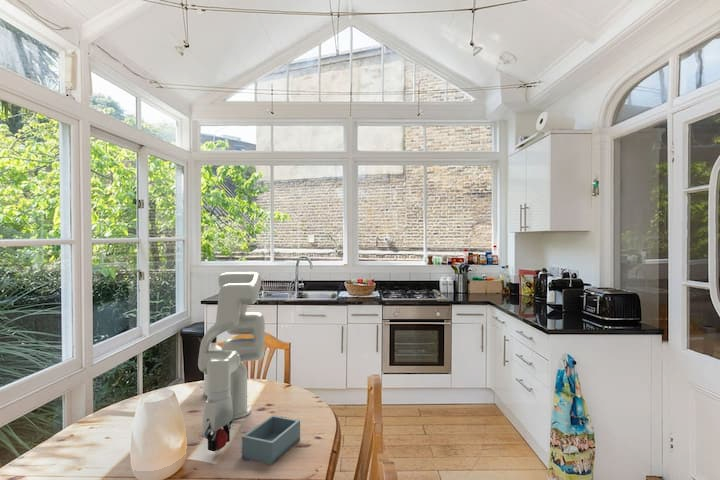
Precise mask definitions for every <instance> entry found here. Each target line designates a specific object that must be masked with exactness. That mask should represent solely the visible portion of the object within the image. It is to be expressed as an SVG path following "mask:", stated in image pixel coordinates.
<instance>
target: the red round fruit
mask: <svg viewBox="0 0 720 480" xmlns="http://www.w3.org/2000/svg"><path fill="white" fill-rule="evenodd" d="M211 435H213V432H211ZM215 439H217V450H216V451H220V450H222V449H223V448H224V447H226V446H227V443H228V442H227V441H228V435H227V433H226V432H225V430H223V428H220V429H219V430H217V433H216V437H215Z"/></svg>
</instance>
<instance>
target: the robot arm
mask: <svg viewBox="0 0 720 480" xmlns="http://www.w3.org/2000/svg"><path fill="white" fill-rule="evenodd" d="M218 286H219V288H220V289H219V291H218V300H217V309H216V316H215V322H214V323H213V325H211V326H210V328H209V329H208V330H207V331H206V333H204V335H203V337H202V339H201V342H200V345H199V353H198V360H197V361H198V362H197V365H198V366H197V367H198V369H199V371H200V372H202V373H204V374H205V373H207V396H206V397H207V400H205V404H204V408H203V409H204V410H203V418H202V419H203V420H202V428H203V429H202V431H201V436H202V437H204V438H205V439H206V440H207V450H208V451H211V452H214V453H215V452H216V451H218V450H217V439H215V437H216V433H217V430H219V429H220V428H221V429H223V430H225V432H226V433H227V435H228V441H227V443H229V442H230V440H231V436H230V433H231V432H230V430H231V429H232V424H233V420H235V419H236V420H237V419H241V418H244V417H247V416H248V415H249V414H250V413H251V412H252V408H251V406H249V405H248V370H247V369H248V368H247V367H246V365H245V364H244V363H243V362H249V361H250V362H253V361H261V360H262V359H263V358H264V355H265V347H266V346H265V341H266V340H265V338H266V337H265V335H266V334H265V333H266V331H265V328H266V327H265V317H264V315H263V313H261V312H258V311H248V305H255V303H257V301H258V298H259V294H260V291H261V287H262V277H261V275H260V273H258V272H257V271H256V272H255V271H230V272H229V271H228V272H224V273H221V274H220V275H219V276H218ZM225 332H227V333H228V335H234V336H239V335H240V336H242V335H243V336H244V335H245V336H249V335H251V336H252V337H233V338H228V339H226V340H225V341H223V343H222V345H221V348H222V350H221V351H209V346H210V345H211V342H212V340H213V339H214V338H215V337H216V336H217V337H218V336H220V335H221V334H223V333H225ZM212 433H213V435H212Z"/></svg>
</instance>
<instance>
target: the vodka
mask: <svg viewBox="0 0 720 480" xmlns="http://www.w3.org/2000/svg"><path fill="white" fill-rule="evenodd" d="M217 339H218V336H216V337H215V338H214V339H213V340H212V342H211V343H210V346H209V351H221V350H222V346H221V345H218V343H217ZM203 375H204V383H203V384H204V387H203V389H202V390H203V391H202V392H203V393H202V394H203V395H204V396H205V397H207V373H205V372H204V374H203Z"/></svg>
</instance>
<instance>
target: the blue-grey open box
mask: <svg viewBox="0 0 720 480" xmlns="http://www.w3.org/2000/svg"><path fill="white" fill-rule="evenodd" d="M300 440H301V419H295V418H290V417H284V416H278V415H274V414H273V415H271V416H269V417H268V418H267V419H265V420H263V421H262V422H260V423H259V424H258V425H256V426H255V427H254V428H252V429H251V430H250V431H248V432H247V433H245V434H244V435H241V458H242V459H246V460H252V461H255V462H260V463H264V464H268V465H274V464H275V463H276V462H277V461H278V460H279V459H280V458H282V457H283V456H284V455H285V454H286V453H287V452H288V451H289V450H290V449H292V447H294V446H295V445H297V443H298V442H299V441H300Z"/></svg>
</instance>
